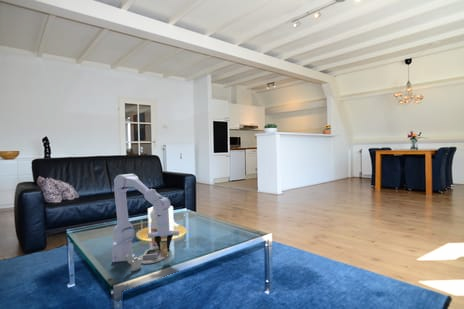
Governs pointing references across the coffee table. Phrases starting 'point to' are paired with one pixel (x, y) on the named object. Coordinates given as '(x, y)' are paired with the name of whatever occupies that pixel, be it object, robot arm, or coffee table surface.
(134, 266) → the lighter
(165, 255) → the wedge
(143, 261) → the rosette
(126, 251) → the robot arm
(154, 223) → the fruit juice
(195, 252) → the coffee table surface
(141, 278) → the coffee table surface
